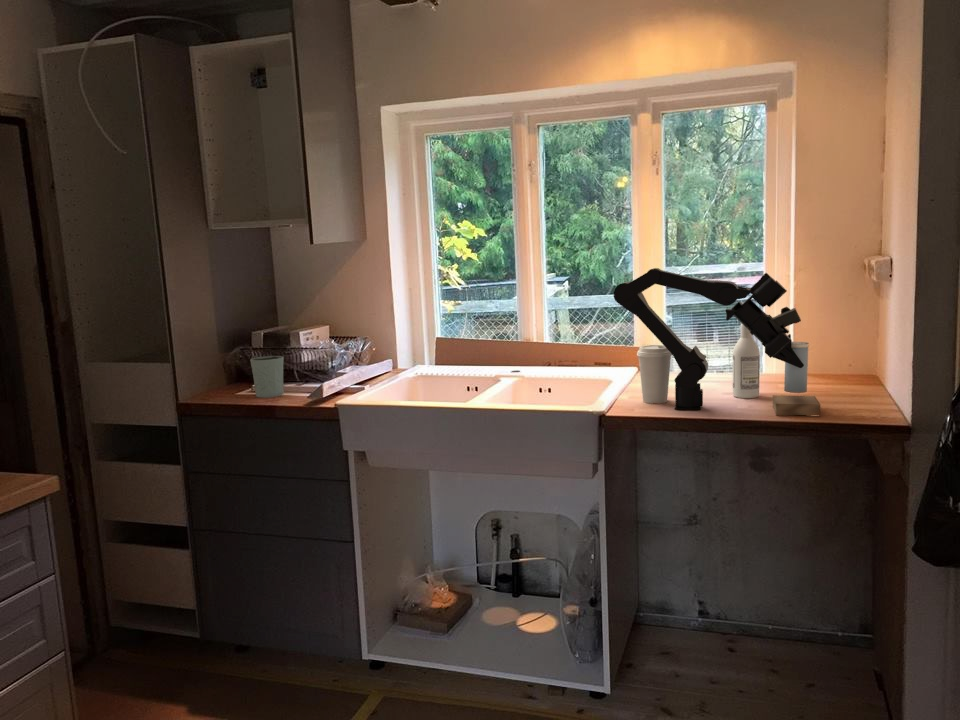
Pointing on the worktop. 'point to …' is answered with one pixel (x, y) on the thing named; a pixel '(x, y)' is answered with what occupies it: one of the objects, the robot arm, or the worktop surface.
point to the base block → (796, 405)
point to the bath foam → (746, 366)
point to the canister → (797, 370)
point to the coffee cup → (654, 372)
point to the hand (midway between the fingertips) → (802, 365)
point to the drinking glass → (268, 376)
